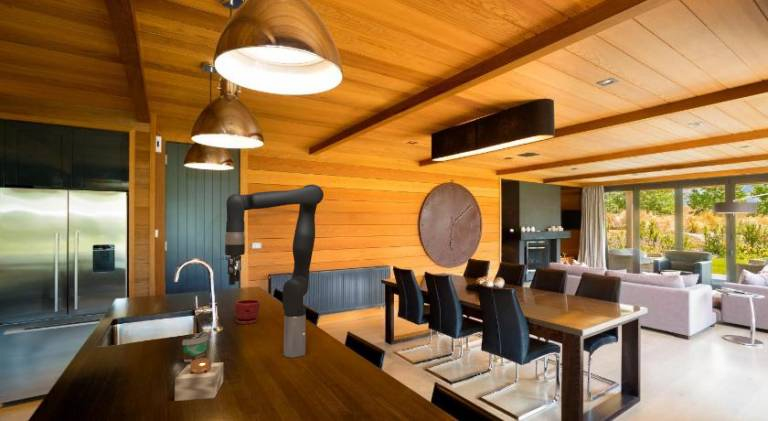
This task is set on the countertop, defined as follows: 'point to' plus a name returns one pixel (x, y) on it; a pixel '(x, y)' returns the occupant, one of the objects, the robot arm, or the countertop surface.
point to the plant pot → (247, 311)
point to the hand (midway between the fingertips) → (234, 282)
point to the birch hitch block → (199, 383)
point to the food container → (195, 347)
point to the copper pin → (200, 366)
